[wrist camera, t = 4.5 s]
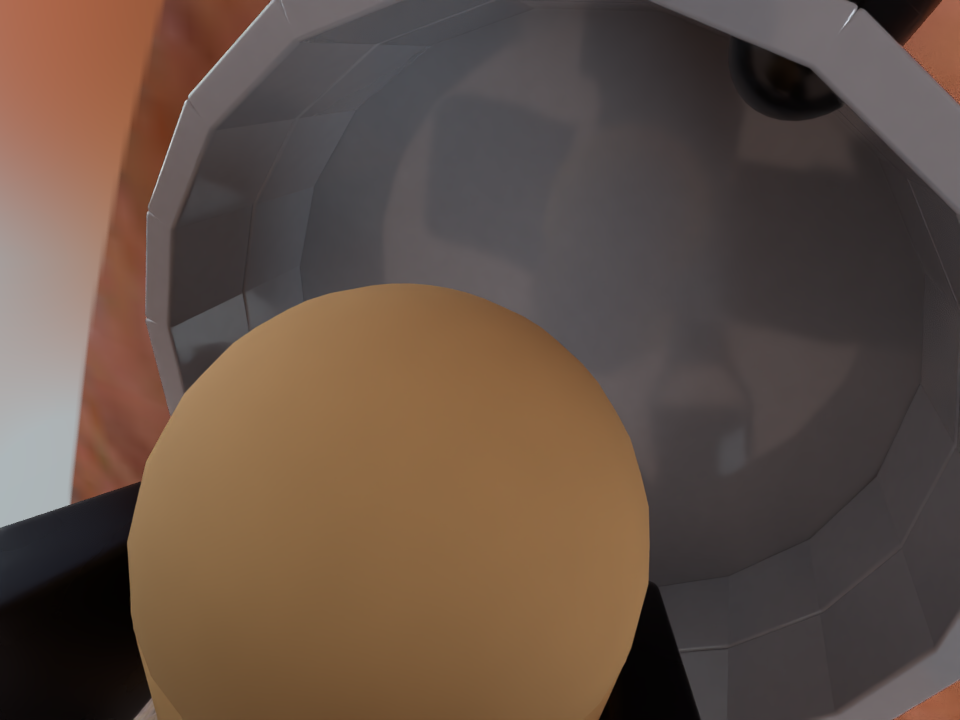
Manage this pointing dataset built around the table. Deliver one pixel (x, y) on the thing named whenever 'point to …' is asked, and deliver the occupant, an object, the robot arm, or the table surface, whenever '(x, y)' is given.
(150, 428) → the table surface
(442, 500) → the potato
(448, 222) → the pan
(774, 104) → the pan handle
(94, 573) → the robot arm
